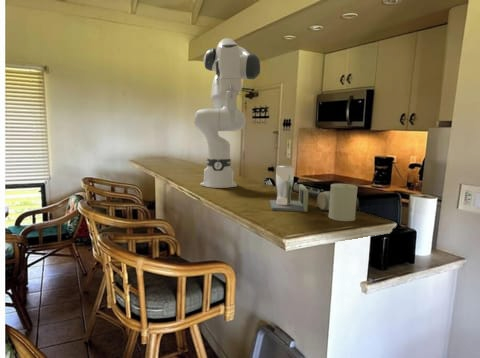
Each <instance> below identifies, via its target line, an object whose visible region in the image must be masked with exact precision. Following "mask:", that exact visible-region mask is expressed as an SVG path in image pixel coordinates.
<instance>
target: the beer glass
mask: <svg viewBox="0 0 480 358" xmlns="http://www.w3.org/2000/svg"><path fill="white" fill-rule="evenodd" d="M294 168H295V167H294V166H292V165H286V164H285V165H284V164H279V165H276V170H275V186H276V199H275V200H276V204H277V205H283V206H287V205H291V201H292V200H291V199H292V198H291V194H292V189H293V185H294V177H295V174H294V171H295V169H294Z"/></svg>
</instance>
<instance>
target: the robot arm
mask: <svg viewBox="0 0 480 358" xmlns="http://www.w3.org/2000/svg"><path fill="white" fill-rule="evenodd" d="M203 65H204V68H205V69H206V70H208V71H210V72H215V75H214V77H213V80H212V84H211V90H210V91H211V92H210V103H211V105H212V106H213V108H202V109H197V111H196V112H195V114H194V116H193V123H194V125H195V127H196V128H197V129H198V130H199V131H200V132H201V133H202V134H203V136H204V137H205V140H206V143H207V155H208V156H207V160H206V164H207V165H206V168H204V169H203V170H204V171H203V181H202V182H200V184H199V185H200V186H203V187H207V188H215V189H216V188H217V189H225V188H233V187H238V185H237V183H236V182H235V181H234V179H235V177H234V170H233V169H232V168H231V164H232V161H231V160H232V159H231V144H230V142H229V141H228V140H227V139H225V138H223V137H222V136H220V135H219V132H237V131H241V130H242V129H244V127H245V125H246V121H247V119H246V115H245V114H244V112H243V111H242V110H240V109H239V108H238V104H237V102H238V101H237V100H238V99H237V98H238V97H237V96H239V95H240V92H242V91H243V86H242V85H243V84H242V80H255V79H256V78H258V77H259V76H260V73H261V61H260V58H259V57H258V56H257V55H256V54H255V53H252V52H250V50H248V49H246V48H244V47H242V46H240V45H238V43H237V42H236V41H235V40H234V39H232V38H229V37H227V38H226V37H225V38H223V39H221V40H220V41H219V42H218V43H217V45H216V48H215V47H212V48H211V49H209V50H207V51H206V53H205V54H204V55H203Z"/></svg>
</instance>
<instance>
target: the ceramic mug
mask: <svg viewBox="0 0 480 358" xmlns="http://www.w3.org/2000/svg"><path fill="white" fill-rule="evenodd" d="M330 191H331V190H329V191H322V192H320V193H319V194H318V195H317V197H316V202H317V206H318V208H319V209H320V210H321V211H325V212H326V211H328V212H329V206H330Z"/></svg>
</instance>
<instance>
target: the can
mask: <svg viewBox="0 0 480 358" xmlns="http://www.w3.org/2000/svg"><path fill="white" fill-rule="evenodd" d="M329 191H330V206H329V211H328V216H327V217H328V218H329V219H331V220H334V221H339V222H353V221H356V209H357V197H358V196H357V195H358V186H357V185H355V184H349V183H331V184H330V190H329Z"/></svg>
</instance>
